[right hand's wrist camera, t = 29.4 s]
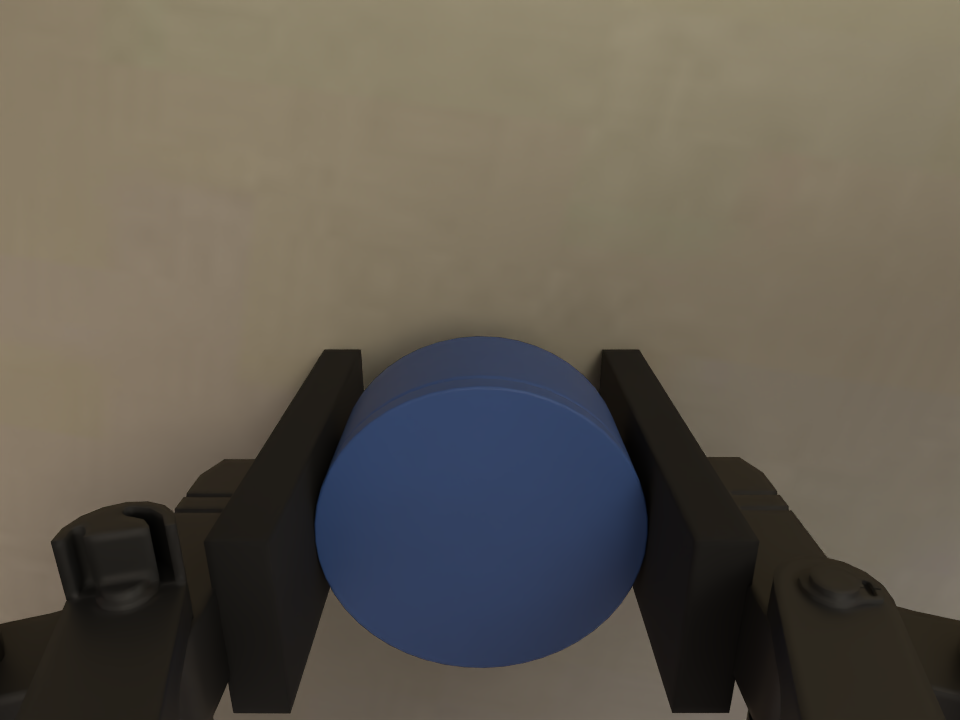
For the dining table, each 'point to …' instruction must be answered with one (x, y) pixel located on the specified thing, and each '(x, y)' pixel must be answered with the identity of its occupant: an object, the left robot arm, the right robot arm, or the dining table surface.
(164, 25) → the dining table surface
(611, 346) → the dining table surface
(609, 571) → the lid
